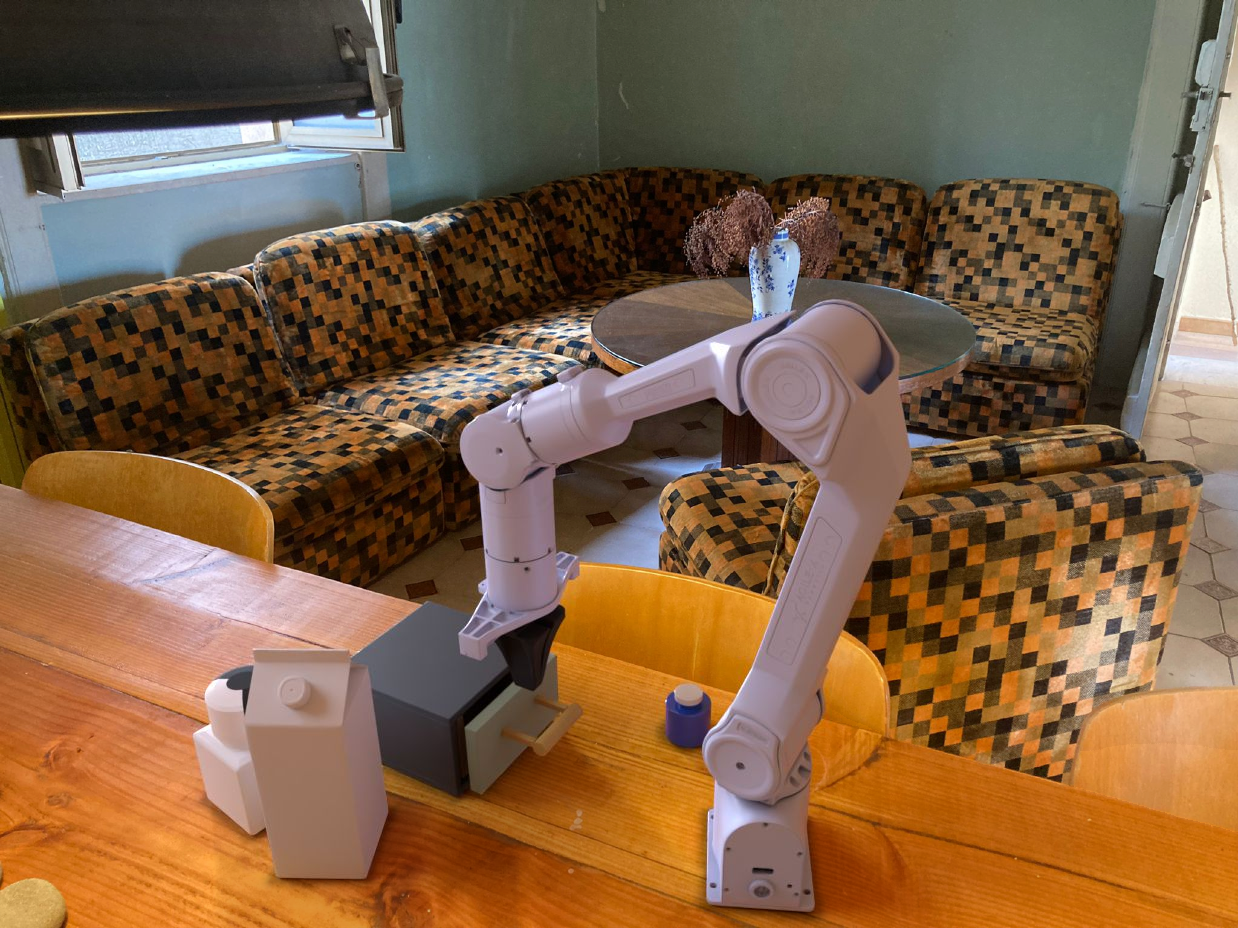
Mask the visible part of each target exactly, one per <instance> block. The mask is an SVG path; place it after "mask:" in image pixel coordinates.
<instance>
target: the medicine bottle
mask: <svg viewBox="0 0 1238 928" xmlns="http://www.w3.org/2000/svg"><path fill="white" fill-rule="evenodd" d="M253 668H254V664H246V665H241V666H237V667H234V668H232V669H229V670H227V671H224V672H223V673H221V674H220V675H218V676H216V678H215V679H213V680H212V682H210V684H209V685H208V686H207V688H206V690H205V693H204V703H205V707H206V711H207V715H208V719H209V724H208V725H205V726H204V727H202V728H201V729H199V730H197V731H195V732H194V733H193V734H192V740H193V744H194V749H195V752H196V758H197V761H198V766H199V769H200V773H201V777H202V781H203V786H204V789H205V794H206V797H207V799H208V800H209V801H210V802H211V803H212V804H213V805H215V806H216V807H217V808H218V809H219V810H220V811H222V812H223V813H224V814H225V815H226V816H227V817H228V818H230V819H231V820H232V821H233V822H234V823H235V824H237V825H238V826H239V827H240V828H241V829H243V830H244V831H245V832H246V833H247V834H248V835H249V836H255V835H257V834H258V833H260V832H261V831H262V830H265V829H266V826H265V821H264V816H263V812H262V807H261V802H260V798H259V793H258V788H257V783H256V779H255V774H254V769H253V765H252V760H251V755H250V751H249V746H248V741H247V736H246V731H245V726H244V719H245V713H246V708H247V702H248V696H249V691H250V685H251V679H252V674H253Z"/></svg>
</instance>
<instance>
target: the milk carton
mask: <svg viewBox="0 0 1238 928" xmlns="http://www.w3.org/2000/svg"><path fill="white" fill-rule="evenodd" d="M252 654H253V655H252V656H253V661H254V663H253V665H254V668H253V674H252V679H251V685H250V691H249V696H248V702H247V708H246V713H245V719H244V726H245V731H246V736H247V741H248V746H249V751H250V755H251V760H252V765H253V769H254V774H255V779H256V783H257V788H258V793H259V798H260V802H261V807H262V812H263V816H264V821H265V826H266V828H265V830H266V835H267V840H268V844H269V849H270V854H271V857H272V862H273V868H274V873H275V876H276V877H277V878H279V879H281V878H283V879H336V880H337V879H338V880H339V879H340V880H348V879H349V880H366V879H367V877H368V874H369V871H370V869H371V865H372V862H373V859H374V856H375V853H376V850H377V847H378V844H379V841H380V838H381V835H382V832H383V829H384V826H385V823H386V820H387V817H388V814H389V804H388V798H387V797H388V796H387V790H386V784H385V776H384V769H383V765H382V761H381V754H380V747H379V740H378V733H377V726H376V719H375V712H374V705H373V698H372V691H371V684H370V677H369V670H368V666H365V665H361V664H358V663H355V662H351V658H350V657H351V651H350V649H349V648H285V647H284V648H282V647H281V648H277V647H276V648H272V647H271V648H268V647H253V648H252Z"/></svg>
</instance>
